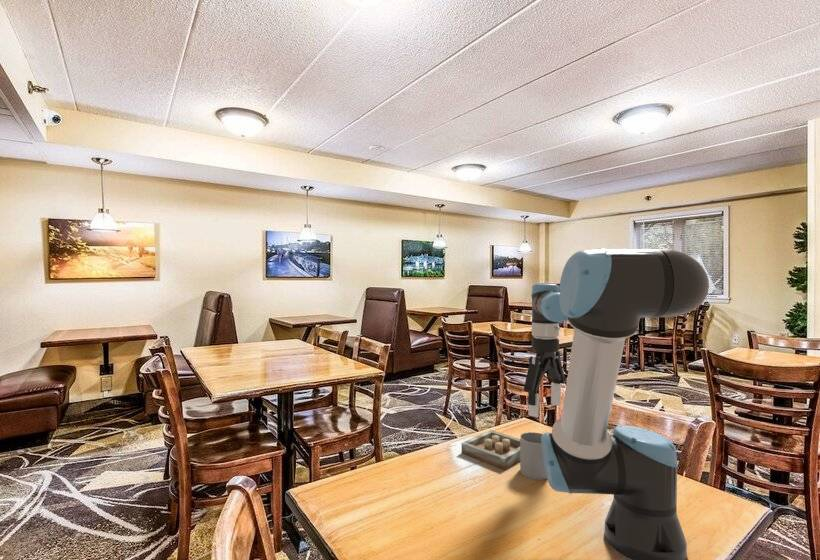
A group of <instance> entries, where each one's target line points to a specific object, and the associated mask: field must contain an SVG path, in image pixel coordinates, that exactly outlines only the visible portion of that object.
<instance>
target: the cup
mask: <svg viewBox="0 0 820 560" xmlns="http://www.w3.org/2000/svg"><path fill="white" fill-rule="evenodd" d="M542 434H543V433H540V432H536V431H535V432H533V431H532V432H524V433H522V434H520V436H519V439H520V461H519V465H520V467H519V472H520V474H521V475H522V476H524V477H526V478H528V479H532V480H538V481H539V480H541V481H542V480H548V479H547V475H546V471H545V466H544V461H543V454H542V446H541V436H542Z"/></svg>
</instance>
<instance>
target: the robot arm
mask: <svg viewBox="0 0 820 560" xmlns="http://www.w3.org/2000/svg"><path fill="white" fill-rule="evenodd" d="M560 276H561V277H560V280H559V281H560V282H559V285H558V284H557V283H534V284H532V287H531V295H530V297H531V335H532V338H531V350H532V351H534V352H535V356H533V355H531V356H530V357H529V362H528V363H529V364H528V369H527V374H526V378H525V382H524V386H523V392H525V393H528V397H527V398H528V406H527V408H528V410H527V411H528V416H530V417H533V418H539V417H540V415H539V413H540V411H539V408H540V407H539V406H540V405H539V404H540V403H539V402H540V400H539V399H540V398H539V394H540V393H538V391H539V387H540V385H541V382H542V380H543V379H542V378H543V376H544V375H545V373H546V372H548V374H549V377H550V379H551V381H552V382H551V383H550V405H553V406H557V407H561V406H562V413H561V417H560V418H559V419H557V420H556V421H555V422H554V424H553V425H552V428H551V433H550V431H549V432H545V433H541V434H542V436H541V446H542V454H543V461H544V466H545V471H546V475H547V479H546V480H547V482H548V484H549V486H550V487H551V489H552V490H554V491H555V492H560V493H565V494H566V493H567V494H585V495H591V494H592V495H613V499H612V501H611V504H610V507H609V509H608V512H607V515H606V518H605V520H604V536H605V539H606V540H607V542H608V543H609V545H611V547H613V549H615V550H616V551H618V552H619V553H620V554H622V555H624V556H626V557H628V558H630V559H632V560H686V559H687V554H688V549H687V547H688V546H687V540H686V537H685V535H684V531H683V529H682V525H681V522H680V519H679V516H678V513H677V512H678V511H677V510H678V509H677V501H678V500H677V498H678V497H677V495H678V492H677V490H678V489H677V488H678V487H677V486H678V467H679V464H678V457H677V448H676V446H675V445H674V443H673V442H672V441H671V440H669V438H667V437H665V436H664V435H661V434H659V433H657V432H655V431H651V430H649V429H645V428H642V427H638V426H634V425H616V426H615V427H614V429H613V430H612V434H610V433H609V432H608V431H607V430H608V426H609V425H608V424H609V420H610V416H611V412H612V411H611V410H612V406H613V400H614V396H615V391H616V385H617V382H618V377H619V372H620V368H621V367H620V366H621V362H622V356H623V351H624V348H625V343H626V339H628V338H630V337H633V336H634V335H636V333H637V332H638V330H639V329H638V328H639V324H640V320H641V318H671V317H677V316H682V315H686V314H688V313H691V312H693V311H694V310H696V309H697V308H699V307H700V306H702V304H703V303H704V301H705V300H706V299H707V295H708V293H709V288H710V283H709V281H710V280H709V277H708V274H707V272H706V270H705V268H704V266H703V265H701V263H700V262H699V261H698V260H696V259H695V258H693V257H692V256H690V255H689V254H687V253H684V252H681V251H679V250H674V249H669V248H655V249H653V248H651V249H650V248H645V249H643V248H641V249H640V248H635V249H633V248H631V249H630V248H629V249H626V248H623V249H621V248H620V249H618V248H617V249H615V248H614V249H612V248H611V249H607V248H606V249H605V248H604V247H603V248H602V247H601V248H596V249H587V250H586V249H585V250H579V251H576V252H574V253H573V254H572V255H571V256H570V257H569V258H568V259H567V260H566V263H565V265H564V267H563V269H562V272H561V275H560ZM563 322H568V324H569V325H570V326H571V327H572V328H573V336H572V343H571V344H572V345H571V350H570V358H569V363H568V371H567V379H566V385H565V391H564V397H563V405H562V384H563V385H564V384H565V373H564V369H563V365H562V360H561V352H560V339H559V336H560V330H561V326H560V323H563Z"/></svg>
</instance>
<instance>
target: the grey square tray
mask: <svg viewBox="0 0 820 560" xmlns="http://www.w3.org/2000/svg"><path fill="white" fill-rule="evenodd" d="M461 454H463V455H465V456H469V457H471V458H473V459H475V460H478V461H481V462H484V463H486V464H489V465H491V466H494V467H496V468H499V469H501V470H504V471H505V470H508V468H510V467H512V466H514V465H515V464H517V463H520V438H517V437H514V436H511V435H508V434H505V433H503V432H502V433H501V432H499V431H495V430H492V429H489V430H488V431H486V432H485V431H484V432H483V433H481V434H478V435H476V436H474V437H472V438H469V439H467V440H464V441H463V442H461Z"/></svg>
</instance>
